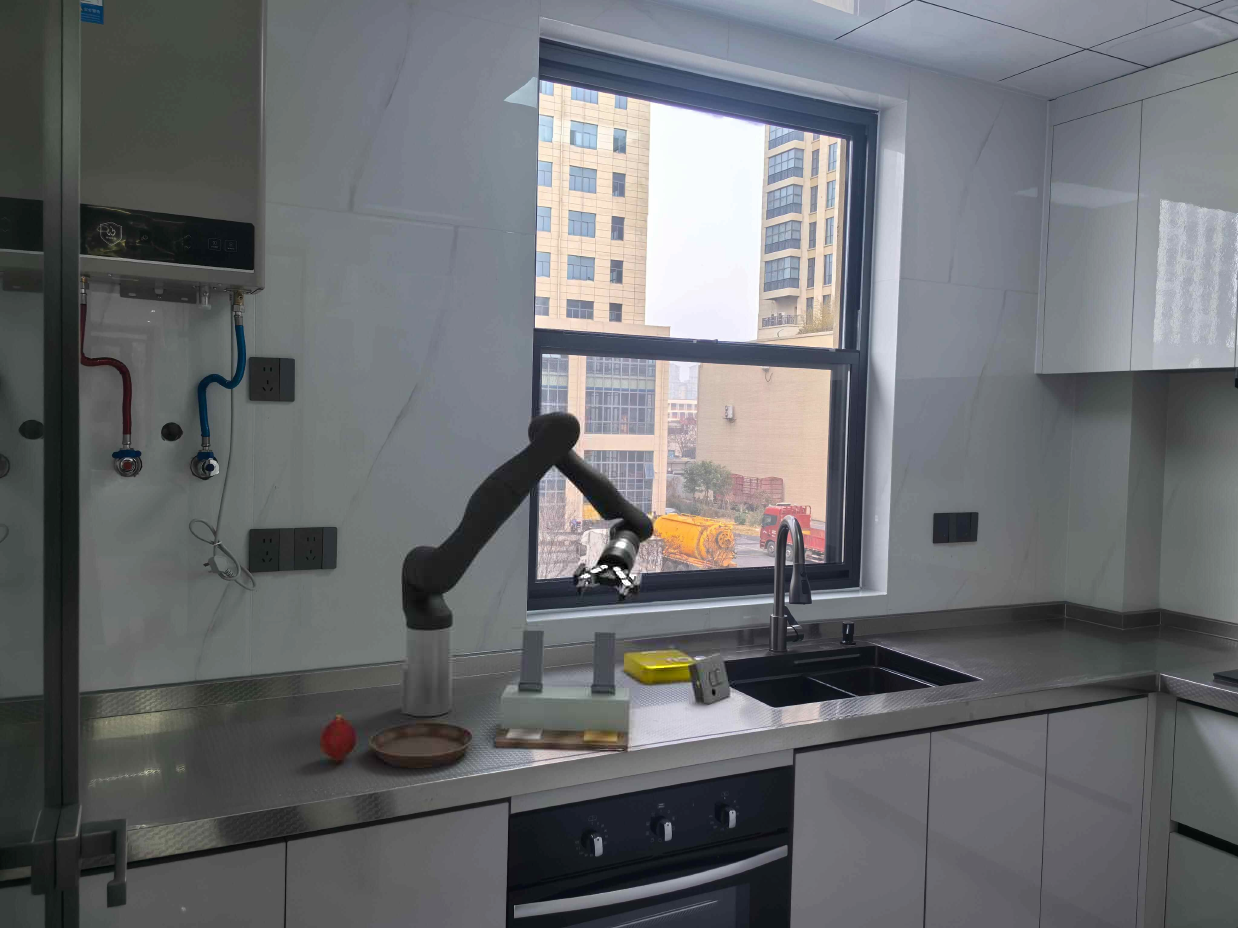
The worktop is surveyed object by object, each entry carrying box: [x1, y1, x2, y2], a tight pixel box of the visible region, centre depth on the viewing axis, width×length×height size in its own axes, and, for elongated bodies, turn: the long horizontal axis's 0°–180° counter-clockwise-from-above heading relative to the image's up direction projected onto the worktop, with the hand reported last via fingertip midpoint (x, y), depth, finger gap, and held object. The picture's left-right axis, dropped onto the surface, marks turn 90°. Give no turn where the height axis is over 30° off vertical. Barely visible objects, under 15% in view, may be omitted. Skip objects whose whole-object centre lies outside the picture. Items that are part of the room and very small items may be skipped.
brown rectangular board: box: [493, 728, 630, 750], centre depth 161 cm, size 24×16×1 cm, turn 88°
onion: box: [319, 714, 357, 763], centre depth 145 cm, size 6×6×8 cm
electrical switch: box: [688, 653, 731, 705], centre depth 186 cm, size 9×5×9 cm, turn 141°
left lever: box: [518, 629, 545, 691], centre depth 165 cm, size 5×2×11 cm, turn 88°
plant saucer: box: [368, 722, 474, 769], centre depth 149 cm, size 18×18×3 cm
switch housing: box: [500, 684, 631, 732], centre depth 164 cm, size 24×8×6 cm, turn 88°
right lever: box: [590, 631, 617, 693], centre depth 165 cm, size 5×2×11 cm, turn 88°
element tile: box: [623, 649, 699, 685], centre depth 205 cm, size 15×15×5 cm
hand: (600, 595), depth 175 cm, fingers open, 8 cm apart
